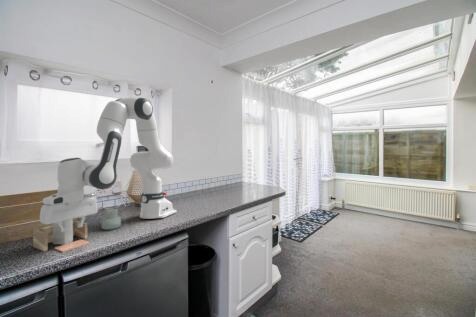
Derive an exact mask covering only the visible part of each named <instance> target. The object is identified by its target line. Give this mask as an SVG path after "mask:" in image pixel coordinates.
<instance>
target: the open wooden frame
mask: <svg viewBox="0 0 476 317" xmlns="http://www.w3.org/2000/svg"><path fill="white" fill-rule="evenodd" d="M79 221H80V220H79ZM79 221H78V220H76V219H75V220H73V237H74V236H76V237H79V238H82V239H83V240H84V239H85V240H86V239H88V223H87V222H85V221H84V222H83V227H79V228H78V227H77V223H79ZM32 237H33V238H32V243H33V245H32V246H33V248H34V249H35V248H36V249H37V250H40V251H42V252H47V251H48V248H49V246H48V244H51V243H53V225H50V226H46V227H41V228H38V229H34V230H33V229H32Z"/></svg>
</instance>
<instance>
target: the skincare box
mask: <svg viewBox="0 0 476 317" xmlns="http://www.w3.org/2000/svg"><path fill="white" fill-rule="evenodd" d="M73 221H74V220H73V219H69V220H64V221H62V224H61V225H62V226H64V227H66V231H64V232H60V231H59V227H58V226H57V224H56V222H55V223H52V226H53V242H52V244H53V245H64V244H68V243H71V242H74V236H73Z"/></svg>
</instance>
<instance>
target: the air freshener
mask: <svg viewBox="0 0 476 317" xmlns="http://www.w3.org/2000/svg"><path fill="white" fill-rule="evenodd" d="M121 226H122V217H121V216H119V210H118V208H114V207H113V208H107V209H105V210H104V218H102V220H101V229H102V230H105V231H110V230H111V231H113V230H115V229H119V228H120V227H121Z"/></svg>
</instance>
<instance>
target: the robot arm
mask: <svg viewBox="0 0 476 317" xmlns="http://www.w3.org/2000/svg"><path fill="white" fill-rule="evenodd" d="M128 119H129V120H134V121H135V124H136V125H135V126H136V132H137V133H136V134H137V139H138V142H139V145H141V146H143V147H145V148H146V149H147V150H148V151H146V150H145V151H137V152H134V153H132V154H131V156H130V159H129V163H130V166H131V167H132V168H133V169H134V170H135V171H136V172H138V175H139V177H140V179H141V186H142V187H141V188H142V189H141V190H142V193H141V208H140V214H139V218H140V219H164V218H167V217H169V216H170V215H173V214H176V213H177V209H174V208H173V203H172V202H171V201H170V200H168V199H167V198H166V197H165V196H167V195H168V192H166V191H164V192H163V189H162V188H163V181H162V180H163V179H162V178H161V177H159V176H158V175H156V174H155V172H154V170H159V171H160V170H163V171H164V170H167V169H171V168H172V166H173V164H174V156H173V155H172V153H171V152H169V151H167V150H166V148H165V147H164V146H163V145H162V143H161V141H160V137H159V131H158V125H157V120H156V116H155V114H154V109H153V105H152V102H151V101H150V99H147V98H144V97H133V96H132V97H131V96H130V97H124V98H123V97H122V98H118V99H115V100H111V101H109V102H108V103H107V104H106V105H105V107H104V108H103V110H102V112H101V114H100V116H99V120H98V122H97V124H96V125H97V126H96V134H97V136H98V137H99V138H100V139H101V140H102V142H103V149H102V153H101V156H100V161H99V163H98V164H95V163H90V162H87V161H85V160H84V159H82V158H81V157H71V158H65V159H62V160H60V161H59V163H58V168H57V174H56V175H57V178H56V179H57V180H56V181H57V182H58V187H57V193H54V194H51V195H49V196H46V197H44V198H43V199H42V203H43V205H42V206H41V207H40V213H39V222H40V224H43V225H49V224H53V223H55V222H56V224H57V226H58V227H59V231H60V232H64V231H66V227H64V226H62V225H61V224H62V221H64V220H69V219H78V218H79V223H77V227H78V228H79V227H83V222H84V223H85V220H86V217H87V216H91V215H96V214H97V213H98V202H97V199H98V196H97V195H96V194H95V193H88V194H85V193H84V192H85V191H84V190H85V189H84V188H85V186H88V187H92V188H96V189H99V190H106V189H109V188H112V186H114V184H115V183H116V181H117V176H118V175H117V164H118V159H119V154H120V150H121V146H122V139H123V135H124V134H123V133H124V131H125V127H126V123H127V120H128Z"/></svg>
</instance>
